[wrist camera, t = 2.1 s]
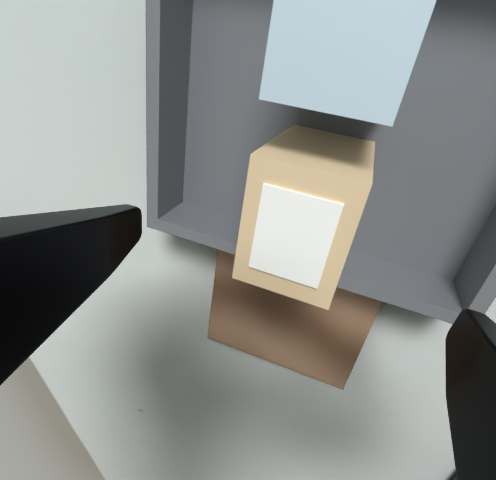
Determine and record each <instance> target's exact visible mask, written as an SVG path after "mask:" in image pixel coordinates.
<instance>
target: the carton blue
mask: <svg viewBox="0 0 496 480" xmlns="http://www.w3.org/2000/svg"><path fill="white" fill-rule="evenodd" d="M435 3H436V0H274V1H273V8H272V14H271V21H270V28H269V34H268V41H267V48H266V54H265V61H264V68H263V74H262V81H261V87H260V94H259V99H260V100H265V101H270V102H275V103H280V104H284V105H289V106H294V107H299V108H304V109H309V110H314V111H319V112H323V113H328V114H333V115H338V116H343V117H348V118H353V119H358V120H363V121H367V122H372V123H377V124H382V125H387V126H393V124H394V121H395V118H396V115H397V112H398V109H399V106H400V104H401V101H402V98H403V95H404V92H405V89H406V86H407V83H408V81H409V78H410V75H411V72H412V69H413V66H414V63H415V61H416V58H417V55H418V52H419V49H420V46H421V43H422V40H423V38H424V35H425V32H426V29H427V26H428V23H429V20H430V18H431V15H432V12H433V9H434V6H435Z"/></svg>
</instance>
